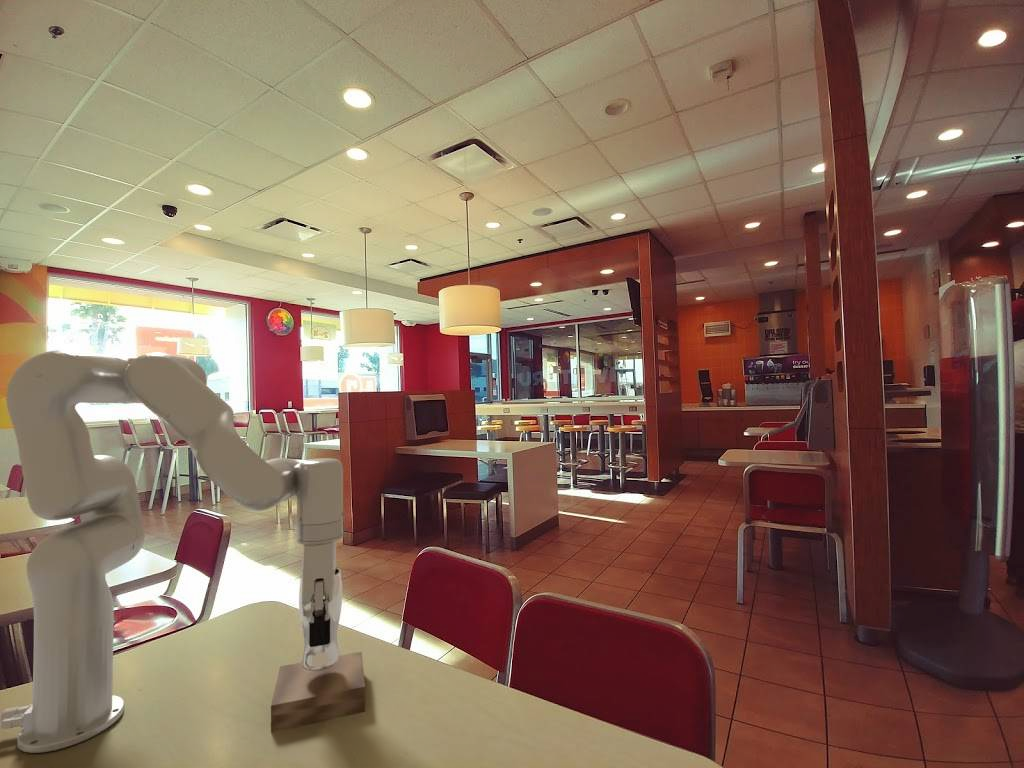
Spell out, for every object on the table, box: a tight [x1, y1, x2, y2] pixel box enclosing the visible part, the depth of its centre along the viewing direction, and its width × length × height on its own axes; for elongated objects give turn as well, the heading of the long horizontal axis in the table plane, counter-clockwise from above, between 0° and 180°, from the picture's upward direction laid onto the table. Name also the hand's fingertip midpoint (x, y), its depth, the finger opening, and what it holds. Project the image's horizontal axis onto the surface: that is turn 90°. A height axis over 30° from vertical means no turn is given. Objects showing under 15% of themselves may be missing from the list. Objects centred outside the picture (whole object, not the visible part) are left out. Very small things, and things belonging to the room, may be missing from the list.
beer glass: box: [298, 567, 343, 671], centre depth 83 cm, size 7×7×15 cm
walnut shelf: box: [270, 651, 366, 733], centre depth 83 cm, size 14×12×4 cm
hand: (320, 634), depth 83 cm, fingers closed on beer glass, 6 cm apart
